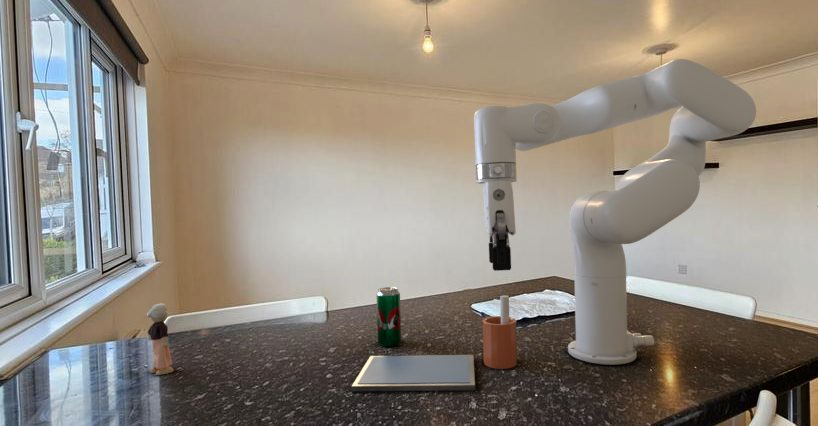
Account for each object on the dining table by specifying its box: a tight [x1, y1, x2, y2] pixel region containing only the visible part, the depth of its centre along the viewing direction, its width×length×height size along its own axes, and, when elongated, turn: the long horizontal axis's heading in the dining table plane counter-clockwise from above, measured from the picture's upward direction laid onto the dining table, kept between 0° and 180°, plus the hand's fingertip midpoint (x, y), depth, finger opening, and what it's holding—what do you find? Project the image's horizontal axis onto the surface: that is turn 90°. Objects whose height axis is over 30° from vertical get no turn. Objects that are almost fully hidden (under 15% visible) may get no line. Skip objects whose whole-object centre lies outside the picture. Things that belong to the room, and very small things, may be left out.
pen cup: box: [482, 315, 518, 370], centre depth 80 cm, size 6×6×8 cm
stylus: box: [499, 294, 510, 324], centre depth 80 cm, size 2×2×12 cm
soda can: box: [376, 286, 402, 348], centre depth 93 cm, size 5×5×12 cm
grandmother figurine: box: [145, 303, 175, 376], centre depth 81 cm, size 8×4×13 cm, turn 65°
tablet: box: [351, 354, 476, 393], centre depth 76 cm, size 20×14×1 cm
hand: (499, 266), depth 80 cm, fingers open, 9 cm apart
